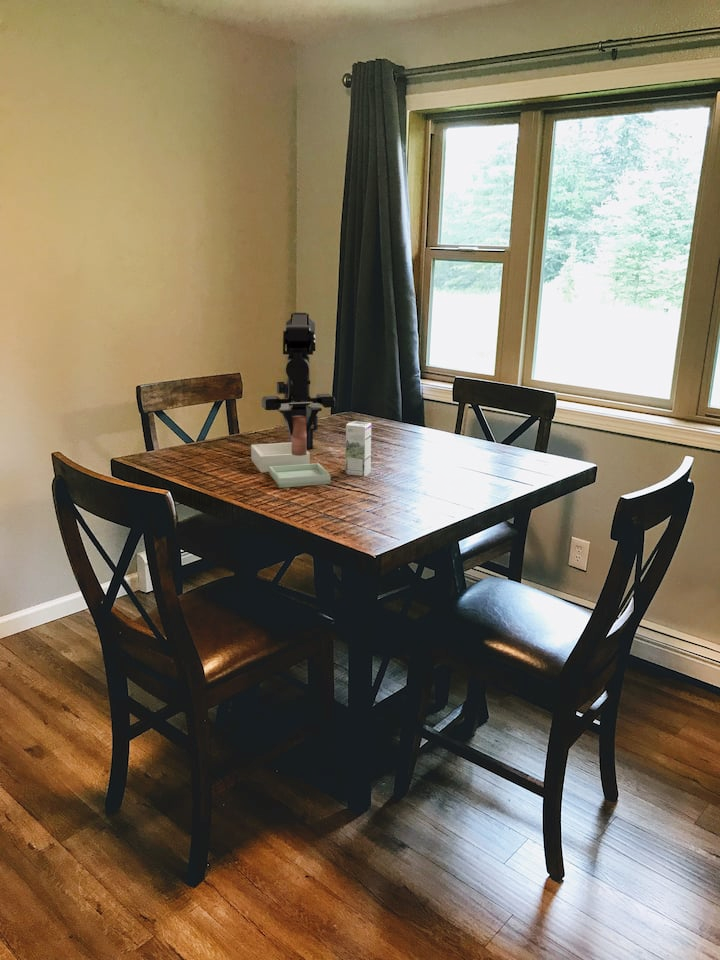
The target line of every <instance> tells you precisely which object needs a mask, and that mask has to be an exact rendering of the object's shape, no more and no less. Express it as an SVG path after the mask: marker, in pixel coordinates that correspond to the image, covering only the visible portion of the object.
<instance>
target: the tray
mask: <svg viewBox="0 0 720 960" xmlns="http://www.w3.org/2000/svg"><path fill="white" fill-rule="evenodd" d="M268 473H269V475H270V477H271V478H272V479H273V480H274V482H275V483H276V485H277V488H279V489H280V488H282V489H283V488H291V487H292V488H293V487H294V488H295V487H304V486H307V487H309V486H317V485H330V484H331V477H332V476H331V473H329V472H328V471H327V470H326V469H325V468H324V467H323V466H322V465H321V464H320V463H318V462H317V463H310V464H301V465H287V466H272V467H269V472H268Z"/></svg>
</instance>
